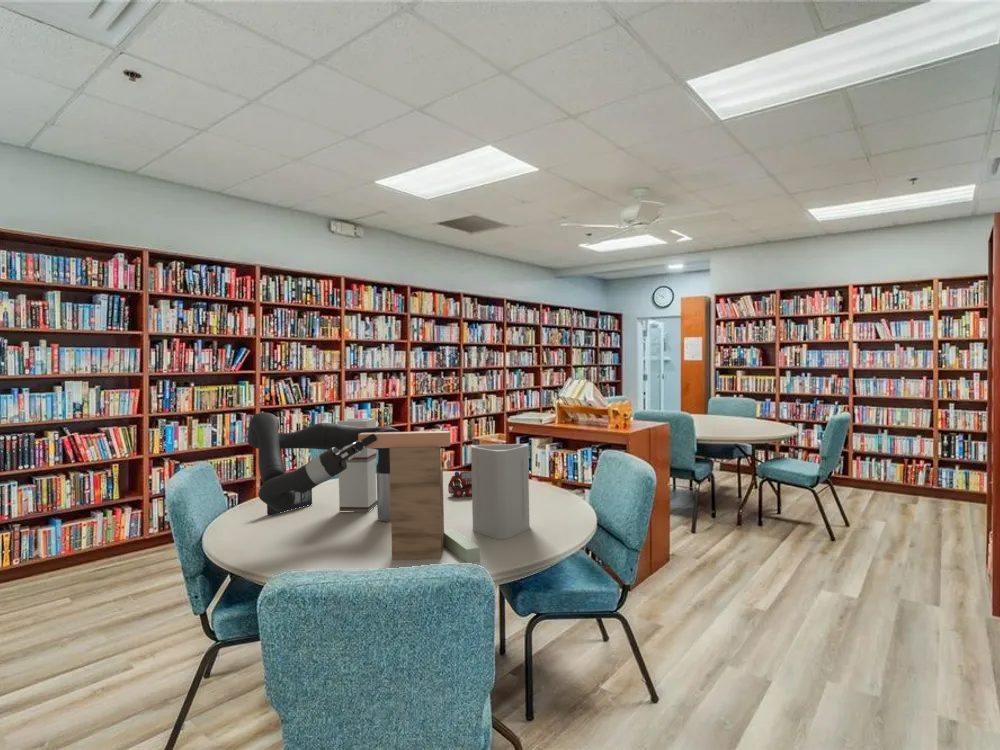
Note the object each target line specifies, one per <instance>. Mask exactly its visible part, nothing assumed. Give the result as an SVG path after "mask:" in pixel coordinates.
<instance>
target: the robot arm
mask: <svg viewBox="0 0 1000 750" xmlns="http://www.w3.org/2000/svg"><path fill="white" fill-rule="evenodd" d="M247 430H248V432H247V444H248V445H249V446H250V447H251V448H254V449H257V450H258V469H259V470H258V471H259V476H260V480H261V483H262V485H261V486H260V487H259V489H258V497H259V500H260V501H261V502H263V503H264V504H265V505H266V506H267V505H269V506H270V507H272V508H273V509H274V510H276V511H279V512H284V511H287V510H289V509H290V508H291V507H292V506H293V504H294V502H295V491H297V492H300V493H305V492H307V491H309V490H311V489H312V490H313V489H314V488H316V487H317V486H319V485H320V484H323V483H325V482H327V481H329V480H330V479H333V478H334V477H336V476H338V475H339V473H341V472H342V471H344V470H345V469H346V468H347V463H346V461H345V460H347V459H348V461H349V460H350V459H352V458H353V457H355V455H357V454H359V453H360V452H361V451H363V449H365V447H366V446H368V445H369V444H371V443H373V442H374V441H376V440H377V437H376V436H375V434H371V435H369V436H368V437H366V438H364V439H363V441H362V440H359V442H358V434H360V433H377V432H401V431H400V430H399V429H396V428H394V427H391V426H378V427H377V426H376V427H374V428H362V427H355V426H350V425H343V424H337V423H332V422H330V423H328V422H320V423H319V422H318V423H315V424H312V425H309V426H307V427H305V428H302V429H301V430H297V431H294V432H279V431H280V420H279V419H278V417H277V416H276V415H275V414H273V413H270V412H258V413H256V414H254V415H253V416H252V417H251V418H250V420H249V424H248V429H247ZM365 445H366V446H365ZM285 449H289V450H291V449H305V450H307V449H309V450H313V449H314V450H324V452H322V453H320V454H319V455H317V456H316V457H313V458H312V459H311V460H310V461H308V462H307V463H306V464H304V465H302V466H300V467H299V468H297V469H295V470H294V471H291V472H287V473H286V469H285V468H286V467H285V464H284V461H283V460H284V459H283V456H282V451H281V450H285ZM370 449H376V451H378V452H377V455H378V460H377V463H376V500H377V506H376V508H377V521H380V522H391V490H390V448H370ZM325 450H326V451H325ZM339 450H342V451H341V452H340V451H339ZM284 513H285V512H284Z"/></svg>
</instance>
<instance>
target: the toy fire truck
mask: <svg viewBox="0 0 1000 750" xmlns="http://www.w3.org/2000/svg"><path fill="white" fill-rule="evenodd" d="M447 486H448V489H447V491H448V493H449V494H450V495H452V494H453V495H454V497H456V498H462V496H464V493H465V495H467V497H470V496H471V497H472V470H467V471H461V472H459V471H455V472H454V475H451V478H450V480H449V483H448V485H447Z"/></svg>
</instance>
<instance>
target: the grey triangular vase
mask: <svg viewBox="0 0 1000 750" xmlns="http://www.w3.org/2000/svg"><path fill="white" fill-rule="evenodd" d="M470 449H471V452H470V454H471V456H470V457H471V461H470V462H471V471H472V496H471V497H472V498H471V503H472V505H471V506H472V507H471V508H472V510H471V511H472V531H474V532H476V533H479V534H482V535H485V536H487V537H489V538H493V539H496V540H509V539H510V538H512V537H515V536H518V535H519V534H521V533H524V532H526V531H528V530H530V491H529V490H530V488H529V487H530V484H529V483H530V482H529V481H530V480H529V478H530V476H529V445H528V443H511V444H510V443H507V444H503V443H502V444H500V443H499V444H498V443H497V444H472V445H471V446H470Z"/></svg>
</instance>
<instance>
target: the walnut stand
mask: <svg viewBox="0 0 1000 750" xmlns="http://www.w3.org/2000/svg"><path fill="white" fill-rule="evenodd" d="M441 449H442V448H441V447H402V448H390V490H391V521H390V523H391V524H390V526H391V528H390V531H391V532H390V533H391V560H393V561H394V560H395V561H399V560H402V561H403V560H404V561H405V560H431V559H432V560H435V559H437V560H438V559H442V556H443V552H444V548H445V545H444V530H445V518H444V516H445V512H444V510H445V509H444V469H443V468H444V467H442V460H441V459H442V458H441V457H442V455H441V454H442V453H441Z"/></svg>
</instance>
